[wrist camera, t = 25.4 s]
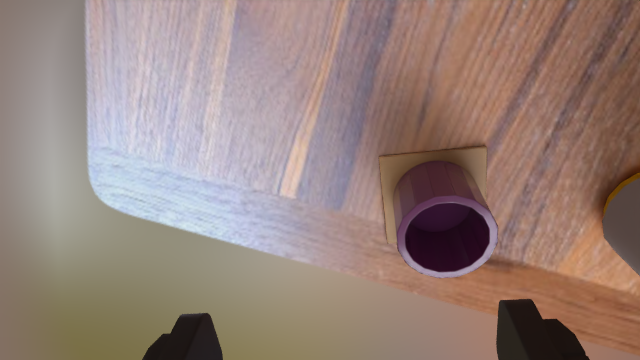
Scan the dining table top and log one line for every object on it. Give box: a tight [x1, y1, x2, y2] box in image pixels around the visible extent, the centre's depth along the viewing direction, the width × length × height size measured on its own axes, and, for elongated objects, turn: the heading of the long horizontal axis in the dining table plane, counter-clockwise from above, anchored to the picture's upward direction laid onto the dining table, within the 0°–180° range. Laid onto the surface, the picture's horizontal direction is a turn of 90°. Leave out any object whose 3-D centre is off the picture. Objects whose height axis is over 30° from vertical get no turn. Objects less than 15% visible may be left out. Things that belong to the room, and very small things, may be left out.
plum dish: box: [393, 161, 498, 278], centre depth 28 cm, size 6×6×5 cm
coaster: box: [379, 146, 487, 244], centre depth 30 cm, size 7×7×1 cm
